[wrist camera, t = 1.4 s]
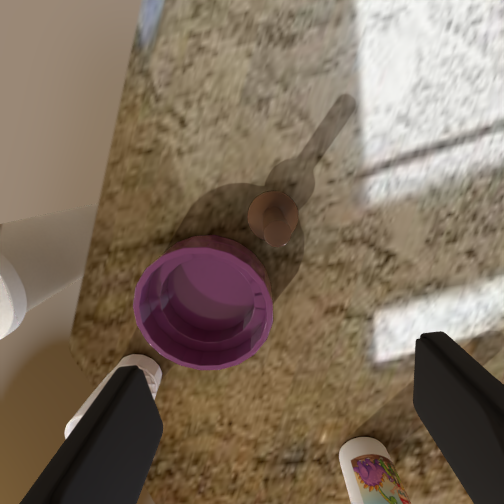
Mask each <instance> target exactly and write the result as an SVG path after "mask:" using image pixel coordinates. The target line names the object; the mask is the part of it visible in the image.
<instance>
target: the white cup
mask: <svg viewBox="0 0 504 504" xmlns="http://www.w3.org/2000/svg"><path fill="white" fill-rule="evenodd" d="M132 365H137V366H138V367H139V369H142V370H143V372H144V374H145V377H146V380H147V382H148V385H149V388H150V390H151V393H152V396H153V399H155V396H156V392H157V390H158V387H159V385H160V382H161V378H162V372H161V369H160V366H159V365H158V364H157V363H156V362H155V361H154V360H153V359H152V358H149V357H147V356H145V355H140V354H131V355H129V356H126V357H123V358H122V360H121V361H120V362H119V363H118V364H117V365H116V367H115V368H114V369H113V370H112V371H111V372H110V373H109V374H108V375H107V376H106V378H105V379H104V380H103V381H102V382H101V383H100V385H99V386H98V387H97V388H96V389H95V390H94V392H93V393H92V394H91V396H90V397H89V398H88V399H87V400H86V402H85V403H84V404H83V405H82V407H81V408H80V409H79V410H78V411H77V413H76V414H75V415H74V416H73V418H72V419H71V420H70V421H69V423H68V424H67V426H66V429H65V438H66V439H67V437H68V436H69V434H70V433H71V432H72V430H73V429H74V428H75V426H76V425H77V423H78V422H79V421H80V419H81V418H82V416H83V415H84V414H85V412H86V411H87V410H88V408H89V407H90V405H91V404H92V403H93V401H94V400H95V398H96V397H97V396H98V394H99V393H100V392H101V390H102V389H103V387H104V386H105V385H106V383H107V382H108V380H109V379H110V378H111V376H112V375H113V373H114V372H115V371H116V370H117V368H119V367H123V366H132Z"/></svg>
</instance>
